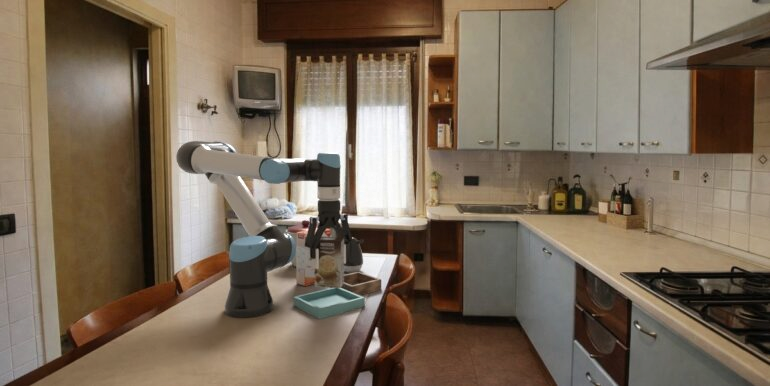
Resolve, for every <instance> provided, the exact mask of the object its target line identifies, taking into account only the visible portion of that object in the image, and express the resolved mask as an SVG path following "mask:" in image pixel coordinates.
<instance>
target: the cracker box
mask: <svg viewBox="0 0 770 386" xmlns="http://www.w3.org/2000/svg"><path fill="white" fill-rule="evenodd" d="M316 231H317V229H316ZM316 231H315V233H316ZM307 233H308V230H307V231H301V232H297V233H296V266H295V267H296V269H295V270H296V271H295V273H296V275H295V282H296V284H297V285H300V286H304V287H308V286H310V285H315V268H313V267H312V258H311V257H310V248H308V247H305V241H306V237H307ZM322 236H325V237H332V229H330V228H326V230H325V231H324V233H323V235H322Z"/></svg>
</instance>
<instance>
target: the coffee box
mask: <svg viewBox="0 0 770 386" xmlns="http://www.w3.org/2000/svg"><path fill="white" fill-rule="evenodd" d="M316 248H317V249H319V269H315V284H314V288H325V289H329V288H341V287H342V285H343V283H344V275H345V271H344V237H338V236H331V237H325V236H322V237H321V239H320V241H319V243H318V245H317V247H316Z"/></svg>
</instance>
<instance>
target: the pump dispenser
mask: <svg viewBox="0 0 770 386" xmlns="http://www.w3.org/2000/svg"><path fill="white" fill-rule="evenodd" d="M362 243H364V239H360V240H358V239H357V238H356V237H353V236H352V241H350V243H349V244H347V253H346V263H345V264H344V273H347V274H351V273H355V272H360V271H361V269H362V267H363V265H364V256H363V251H362V249H361V245H360V244H362Z"/></svg>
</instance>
